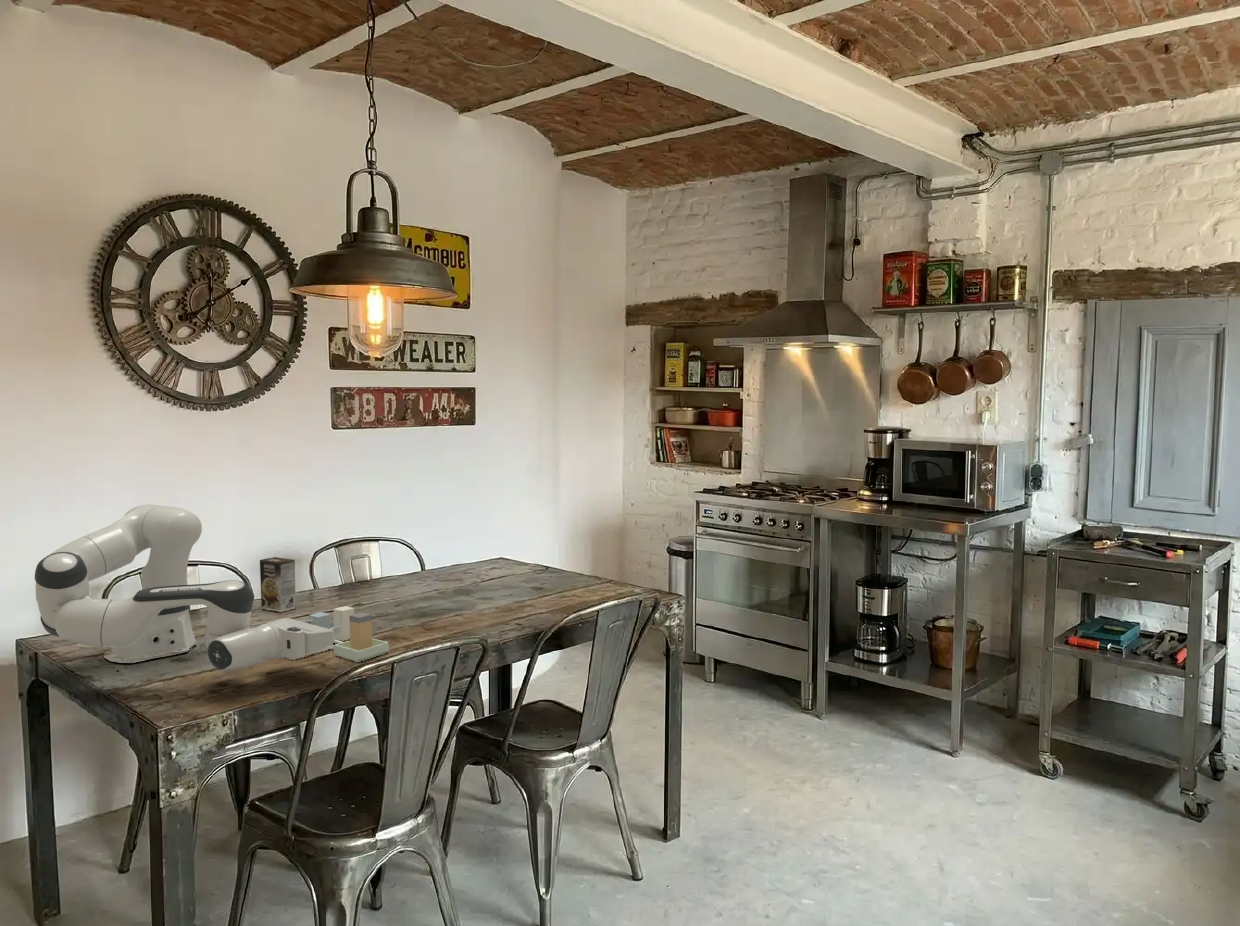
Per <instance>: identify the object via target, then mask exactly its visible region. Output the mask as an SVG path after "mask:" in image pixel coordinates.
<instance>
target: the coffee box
mask: <svg viewBox="0 0 1240 926" xmlns="http://www.w3.org/2000/svg"><path fill="white" fill-rule="evenodd" d="M295 561H296V560H295V559H291V558H284V557H276V556H274V557H267V558H264V559H262V558H261V559H260V560H259V574H260V599H261V600H260V601H261V604H260V605H261V606H262V607H266V608H271V609H277V610H284V609H287V608H291V607H294V606H296V607H297V605H296V566H295V565H296V563H295ZM262 607H261V608H262Z"/></svg>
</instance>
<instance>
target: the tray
mask: <svg viewBox="0 0 1240 926" xmlns="http://www.w3.org/2000/svg"><path fill="white" fill-rule="evenodd" d="M333 645H334V644H333ZM385 652H389V653H390V643H389V642H388V641H386V640H385V641H384V640H380V639H376V638H373V637H372V647H370V648H366V649H363V650H360V651H357V650H354V649H350V641H346V642H343V643H339V644H335V645H334V650H333V655H334V654H335V655H339V656H342V657H345V658H348V659H351V660H353V661H355V663H357V662H360V663H362V662H361V661H363V662H365V661H364V660H366V659H369V658H373V657H376V656H378V655H380V654H383V653H385ZM376 658H377V657H376ZM373 659H374V658H373ZM353 661H352V662H353ZM366 661H367V660H366Z"/></svg>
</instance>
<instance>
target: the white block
mask: <svg viewBox="0 0 1240 926" xmlns="http://www.w3.org/2000/svg"><path fill="white" fill-rule="evenodd" d="M353 614H356V612H355V607H350V606H346V605H345V606H341V607H336V608H333V626H338V627H340V633H339V634H335V635H334V639H338V640H342V641H344V640H348V639H350V617H349V615H353Z"/></svg>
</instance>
